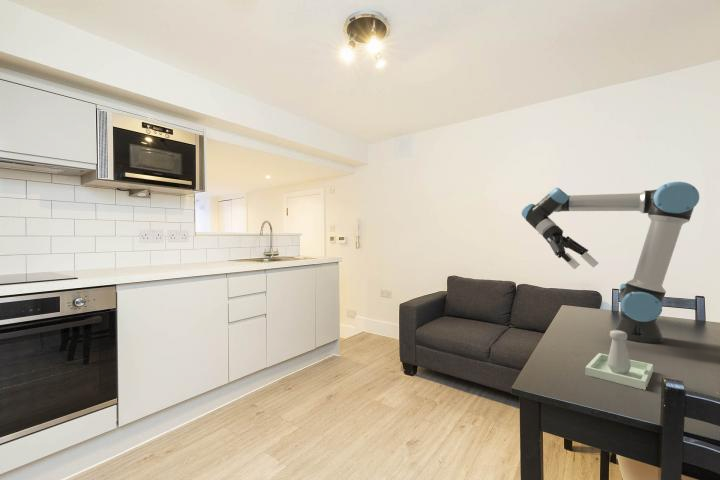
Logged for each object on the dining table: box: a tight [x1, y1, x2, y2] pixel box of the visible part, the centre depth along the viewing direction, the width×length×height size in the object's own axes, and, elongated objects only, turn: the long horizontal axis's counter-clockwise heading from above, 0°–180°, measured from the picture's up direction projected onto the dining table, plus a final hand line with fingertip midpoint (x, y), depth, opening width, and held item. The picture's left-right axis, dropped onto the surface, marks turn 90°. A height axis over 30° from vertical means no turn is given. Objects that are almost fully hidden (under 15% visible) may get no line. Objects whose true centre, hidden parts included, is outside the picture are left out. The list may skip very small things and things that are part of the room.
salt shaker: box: [607, 329, 631, 375], centre depth 99 cm, size 6×6×13 cm
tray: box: [584, 352, 654, 391], centre depth 99 cm, size 18×14×2 cm
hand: (586, 266), depth 127 cm, fingers open, 13 cm apart
